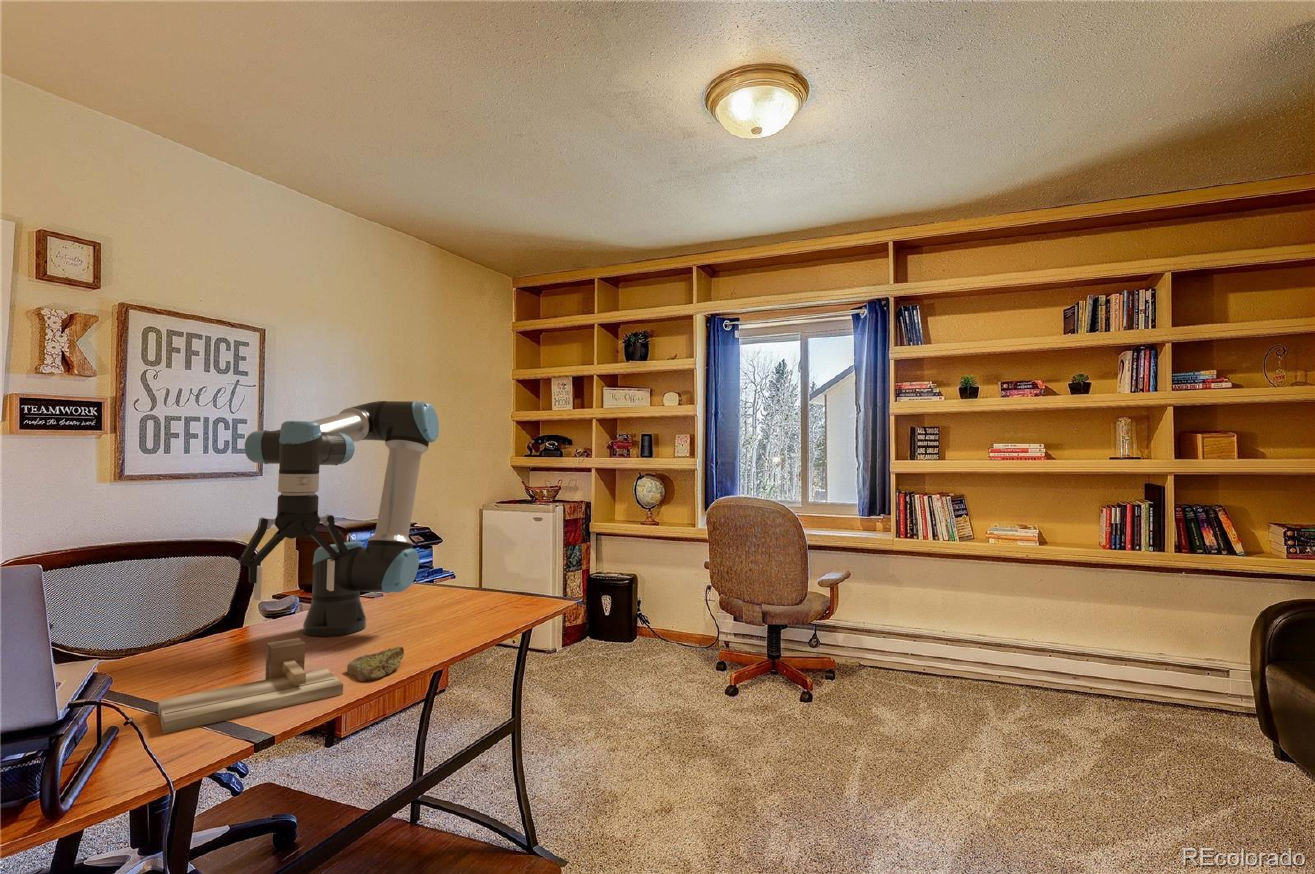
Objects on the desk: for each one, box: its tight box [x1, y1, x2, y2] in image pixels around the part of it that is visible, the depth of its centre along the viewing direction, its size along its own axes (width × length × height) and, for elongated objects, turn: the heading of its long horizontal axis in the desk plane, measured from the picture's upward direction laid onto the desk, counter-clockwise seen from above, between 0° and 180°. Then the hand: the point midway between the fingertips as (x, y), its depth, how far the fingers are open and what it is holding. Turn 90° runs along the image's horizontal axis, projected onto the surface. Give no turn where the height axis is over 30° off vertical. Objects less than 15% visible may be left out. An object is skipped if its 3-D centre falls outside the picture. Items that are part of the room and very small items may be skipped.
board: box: [157, 667, 344, 735], centre depth 118 cm, size 12×28×2 cm, turn 133°
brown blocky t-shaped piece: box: [264, 637, 307, 687], centre depth 126 cm, size 15×6×8 cm, turn 42°
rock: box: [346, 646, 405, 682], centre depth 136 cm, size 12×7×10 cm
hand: (294, 594), depth 131 cm, fingers open, 13 cm apart
